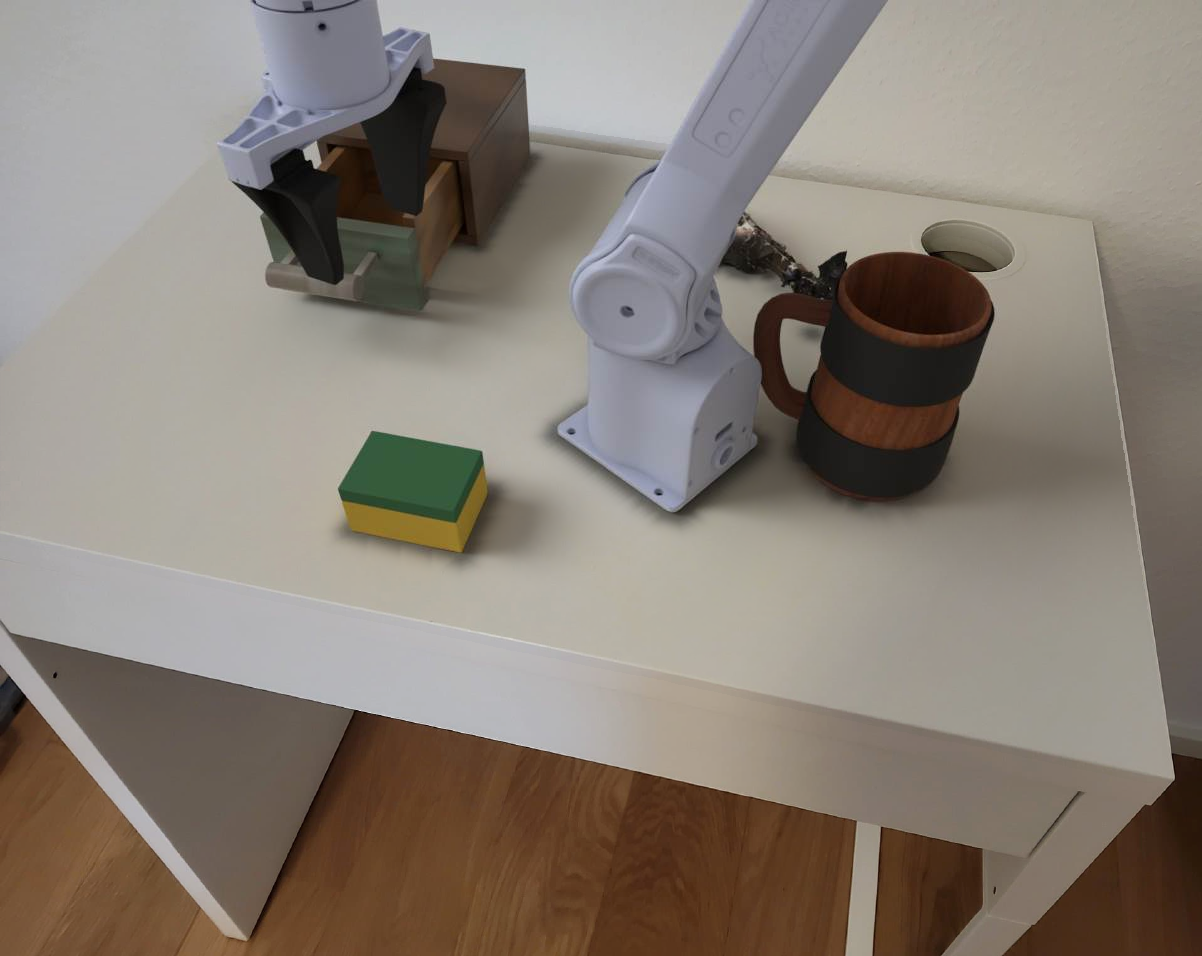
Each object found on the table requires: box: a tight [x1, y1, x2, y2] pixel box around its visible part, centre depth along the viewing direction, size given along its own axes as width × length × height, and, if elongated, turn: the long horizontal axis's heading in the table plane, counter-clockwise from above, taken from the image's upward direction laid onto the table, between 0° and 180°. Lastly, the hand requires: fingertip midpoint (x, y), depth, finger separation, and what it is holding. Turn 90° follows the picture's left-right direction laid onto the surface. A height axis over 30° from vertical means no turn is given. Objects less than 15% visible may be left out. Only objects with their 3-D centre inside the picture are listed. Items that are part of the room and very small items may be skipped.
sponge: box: [337, 430, 489, 554], centre depth 51 cm, size 4×6×4 cm
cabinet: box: [316, 57, 531, 246], centre depth 72 cm, size 14×12×8 cm
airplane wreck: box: [720, 210, 848, 300], centre depth 65 cm, size 6×18×6 cm, turn 36°
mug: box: [752, 251, 996, 502], centre depth 51 cm, size 9×12×12 cm
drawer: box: [259, 145, 466, 312], centre depth 64 cm, size 17×10×6 cm, turn 166°
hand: (367, 242), depth 53 cm, fingers open, 7 cm apart
